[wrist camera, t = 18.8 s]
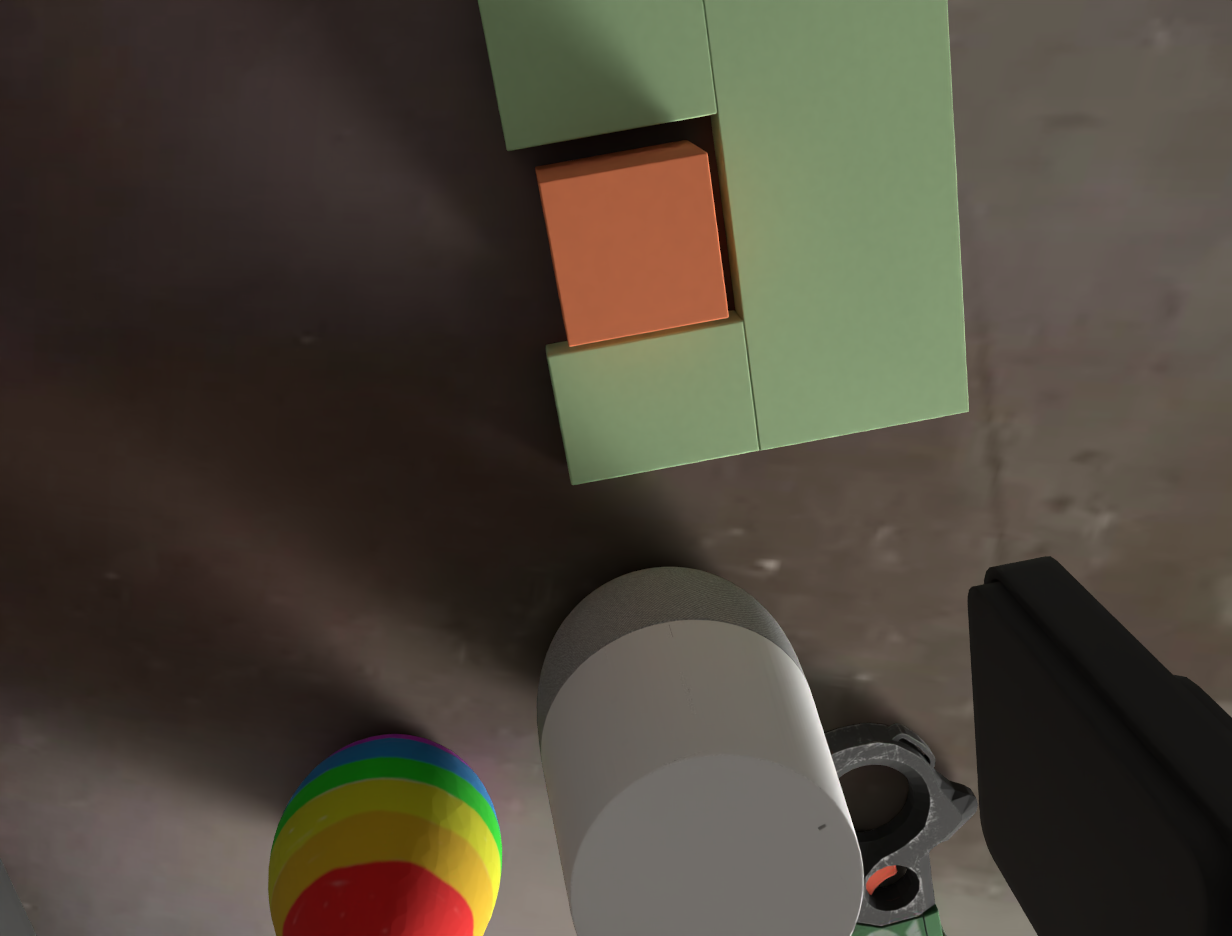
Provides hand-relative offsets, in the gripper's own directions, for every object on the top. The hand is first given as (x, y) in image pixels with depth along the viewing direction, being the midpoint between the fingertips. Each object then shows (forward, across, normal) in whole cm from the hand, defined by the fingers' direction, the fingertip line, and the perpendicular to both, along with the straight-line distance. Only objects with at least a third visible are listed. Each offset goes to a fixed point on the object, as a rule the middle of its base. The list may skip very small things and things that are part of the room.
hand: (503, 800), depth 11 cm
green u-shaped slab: (+29, -8, +1) cm, 30 cm away
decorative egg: (+29, +8, +21) cm, 37 cm away
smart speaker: (+29, -3, +17) cm, 34 cm away
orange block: (+29, -4, +1) cm, 30 cm away
